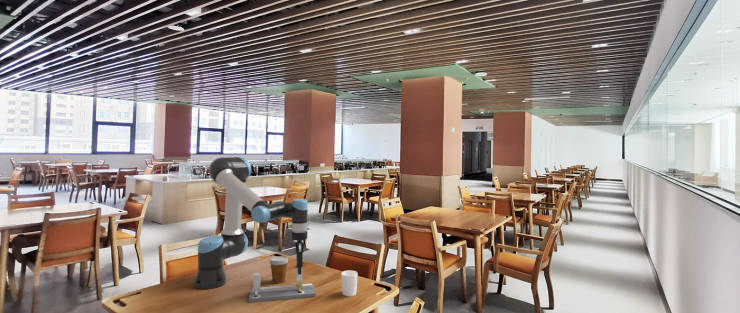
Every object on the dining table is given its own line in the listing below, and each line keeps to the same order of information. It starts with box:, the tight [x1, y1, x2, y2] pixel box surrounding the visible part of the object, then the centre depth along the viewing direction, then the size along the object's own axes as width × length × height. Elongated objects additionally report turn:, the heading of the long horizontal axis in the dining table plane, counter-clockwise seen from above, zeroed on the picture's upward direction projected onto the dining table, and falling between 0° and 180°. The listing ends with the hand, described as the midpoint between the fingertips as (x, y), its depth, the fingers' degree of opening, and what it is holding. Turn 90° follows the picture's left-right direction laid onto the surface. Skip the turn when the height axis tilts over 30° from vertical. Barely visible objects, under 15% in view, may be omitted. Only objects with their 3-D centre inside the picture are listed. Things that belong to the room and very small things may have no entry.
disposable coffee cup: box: [269, 255, 289, 284], centre depth 188 cm, size 10×10×12 cm
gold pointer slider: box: [295, 259, 304, 292], centre depth 172 cm, size 3×8×13 cm, turn 14°
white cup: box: [340, 269, 359, 297], centre depth 172 cm, size 8×8×10 cm
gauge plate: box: [248, 272, 317, 303], centre depth 171 cm, size 30×12×10 cm, turn 104°
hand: (299, 279), depth 174 cm, fingers closed on gold pointer slider, 3 cm apart
